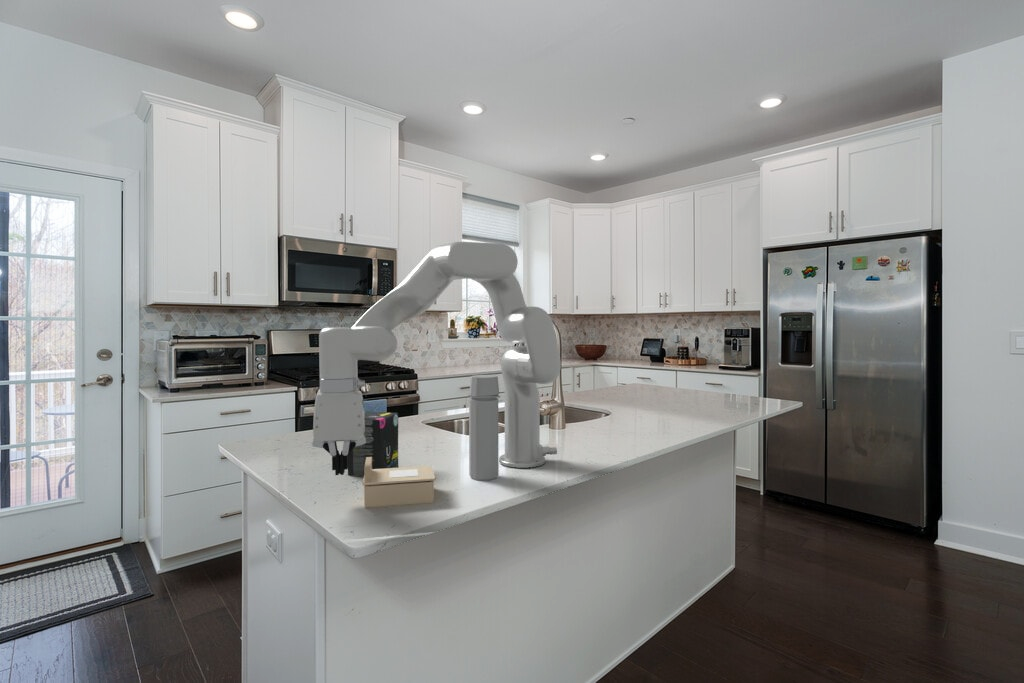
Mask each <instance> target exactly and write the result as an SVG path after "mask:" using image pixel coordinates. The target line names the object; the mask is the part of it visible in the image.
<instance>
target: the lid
mask: <svg viewBox="0 0 1024 683" xmlns="http://www.w3.org/2000/svg"><path fill="white" fill-rule="evenodd" d="M419 481H436V476H435V472H434V469H433V466H432V465H418V466H403V467H398V468H384V469H372V457H366V461H365V467H364V476H363V480H362V486H365V485H376V484H390V483H405V482H419Z"/></svg>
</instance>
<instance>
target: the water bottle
mask: <svg viewBox="0 0 1024 683" xmlns="http://www.w3.org/2000/svg"><path fill="white" fill-rule="evenodd" d="M469 381H470V382H469V383H470V384H469V390H468V392H469V394H467V395H468V397H470V398H469V399H468V412H469V413H468V429H469V430H468V435H469V436H468V438H469V440H468V444H469V445H468V447H469V448H468V451H469V452H468V454H469V455H468V456H469V457H468V459H469V462H468V464H469V466H468V467H469V468H468V469H469V470H468V474H469V477H470V478H471V480H474V481H481V482H482V481H483V482H484V481H491V480H495V479H497V478H498V477H499V474H500V473H499V471H500V470H499V467H500V466H499V464H500V463H499V398H501V396H500V387H499V385H500V384H499V377H498V375H495V374H477V375H471V376H470V380H469Z"/></svg>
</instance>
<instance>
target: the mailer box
mask: <svg viewBox="0 0 1024 683" xmlns="http://www.w3.org/2000/svg"><path fill="white" fill-rule="evenodd" d="M434 481H435V480H433V481H427V482H421V481H419V482H414V483H407V482H405V483H400V484H399V483H390V484H376V485H363V486H364V487H363V488H364V490H363V494H364V509H367V508H370V509H371V508H380V507H381V508H382V507H390V506H391V507H395V506H405V505H407V506H408V505H417V504H419V505H420V504H433V503H434V502H435V484H434Z"/></svg>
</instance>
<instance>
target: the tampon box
mask: <svg viewBox="0 0 1024 683" xmlns="http://www.w3.org/2000/svg"><path fill="white" fill-rule="evenodd" d="M364 414H365V433H364V434H365V437H366V443H365V444H363V445H359V446H356V447H354V448H353V449H352V450H351V451H350V452H349V453H348V469H347V476H350V477H351V476H352V477H364V467H365V461H366V457H372V469H384V468H399V412H383V411H364ZM350 442H351V441H350Z"/></svg>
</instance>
